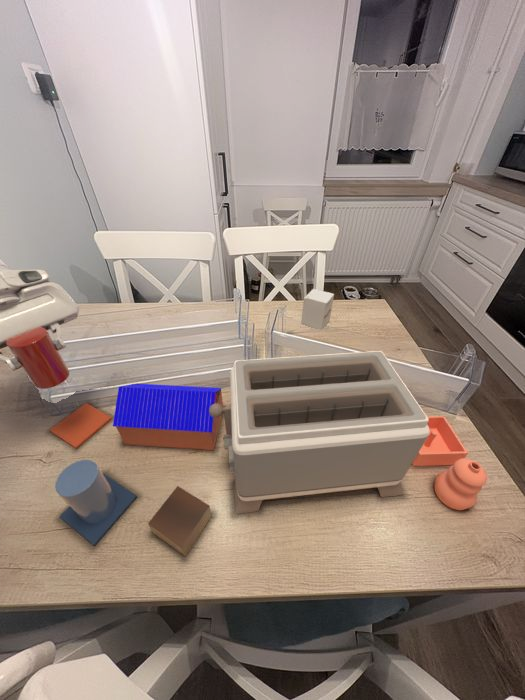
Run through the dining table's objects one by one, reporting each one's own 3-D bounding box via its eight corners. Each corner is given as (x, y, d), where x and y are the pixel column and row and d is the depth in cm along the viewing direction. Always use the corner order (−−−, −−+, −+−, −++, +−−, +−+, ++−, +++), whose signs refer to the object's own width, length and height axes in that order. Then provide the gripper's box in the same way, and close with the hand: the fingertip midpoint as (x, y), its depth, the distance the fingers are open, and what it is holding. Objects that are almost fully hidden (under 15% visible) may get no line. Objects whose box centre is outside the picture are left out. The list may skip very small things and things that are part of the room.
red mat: (76, 448, 62) (75, 447, 61) (50, 431, 65) (49, 430, 65) (112, 418, 68) (111, 417, 67) (86, 404, 71) (85, 402, 71)
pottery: (395, 428, 66) (409, 399, 60) (436, 427, 66) (454, 398, 60) (435, 512, 52) (458, 485, 46) (487, 511, 52) (517, 484, 46)
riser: (185, 556, 47) (181, 547, 44) (153, 533, 49) (147, 523, 47) (212, 515, 51) (209, 505, 49) (181, 496, 54) (177, 485, 51)
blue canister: (95, 531, 49) (71, 504, 43) (72, 512, 51) (46, 484, 45) (124, 498, 53) (106, 470, 47) (102, 483, 55) (81, 453, 49)
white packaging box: (320, 338, 93) (326, 303, 85) (299, 331, 96) (303, 297, 88) (329, 327, 98) (335, 293, 90) (308, 321, 101) (312, 287, 93)
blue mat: (94, 546, 48) (93, 545, 47) (60, 517, 51) (59, 516, 51) (137, 497, 54) (136, 495, 53) (104, 474, 57) (103, 473, 57)
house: (215, 451, 61) (209, 415, 54) (122, 445, 62) (104, 409, 55) (224, 407, 71) (220, 371, 63) (144, 402, 72) (131, 367, 64)
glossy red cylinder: (46, 393, 54) (18, 350, 48) (27, 381, 56) (-2, 340, 50) (76, 373, 58) (54, 332, 52) (57, 363, 60) (34, 323, 54)
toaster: (218, 426, 66) (208, 357, 54) (363, 413, 69) (386, 345, 57) (217, 516, 51) (203, 450, 39) (402, 494, 54) (445, 427, 42)
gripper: (-94, 309, 43) (-35, 386, 45) (53, 267, 56) (96, 328, 57) (-78, 324, 48) (-26, 392, 50) (54, 282, 61) (93, 338, 62)
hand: (40, 357), depth 53 cm, fingers closed on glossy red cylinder, 6 cm apart
